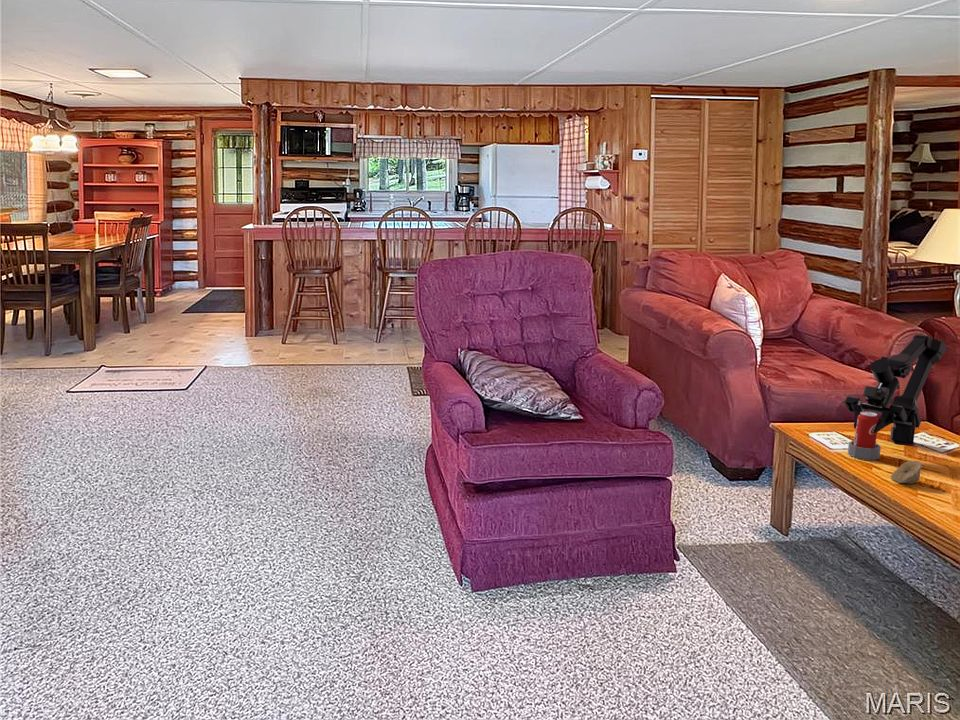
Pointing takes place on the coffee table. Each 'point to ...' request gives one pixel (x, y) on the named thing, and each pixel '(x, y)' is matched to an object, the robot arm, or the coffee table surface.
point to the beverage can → (866, 430)
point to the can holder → (864, 452)
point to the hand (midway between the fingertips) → (864, 430)
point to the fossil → (907, 472)
